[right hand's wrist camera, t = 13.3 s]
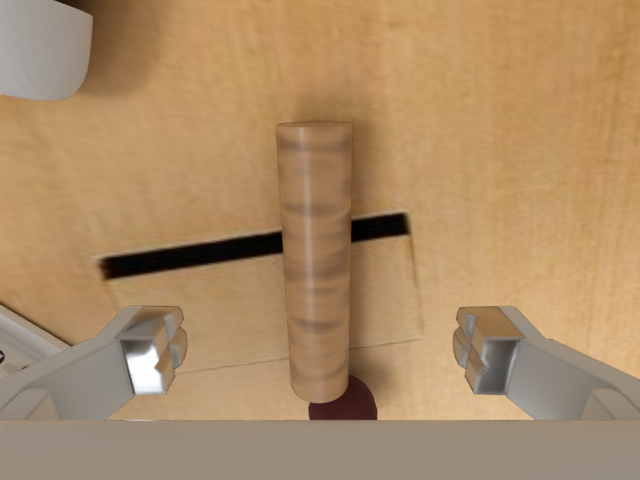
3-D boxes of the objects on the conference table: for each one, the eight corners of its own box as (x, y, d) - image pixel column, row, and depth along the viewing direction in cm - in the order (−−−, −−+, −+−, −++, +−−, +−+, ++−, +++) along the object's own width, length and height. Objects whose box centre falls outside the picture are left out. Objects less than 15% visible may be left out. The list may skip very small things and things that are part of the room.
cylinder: (283, 121, 32) (268, 126, 26) (352, 121, 31) (353, 125, 25) (295, 359, 41) (286, 401, 36) (348, 362, 41) (348, 405, 35)
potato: (384, 390, 42) (395, 443, 36) (333, 420, 44) (335, 476, 38) (347, 351, 40) (352, 399, 34) (295, 384, 42) (290, 436, 36)
